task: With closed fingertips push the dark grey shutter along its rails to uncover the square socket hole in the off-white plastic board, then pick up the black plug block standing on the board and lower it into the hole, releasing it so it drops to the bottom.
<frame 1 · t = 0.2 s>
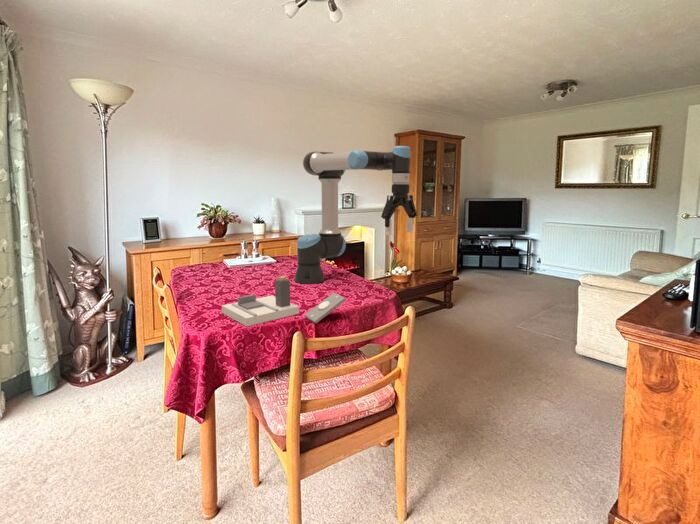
hand: (399, 233, 176), 28 cm above the table, fingers open, 13 cm apart
shutter: (250, 301, 154), point 5 cm above the table, slide at 0.0 cm
light switch: (325, 318, 151), on the table
plug: (283, 305, 156), point 3 cm above the table, touching socket board
socket board: (260, 313, 155), on the table
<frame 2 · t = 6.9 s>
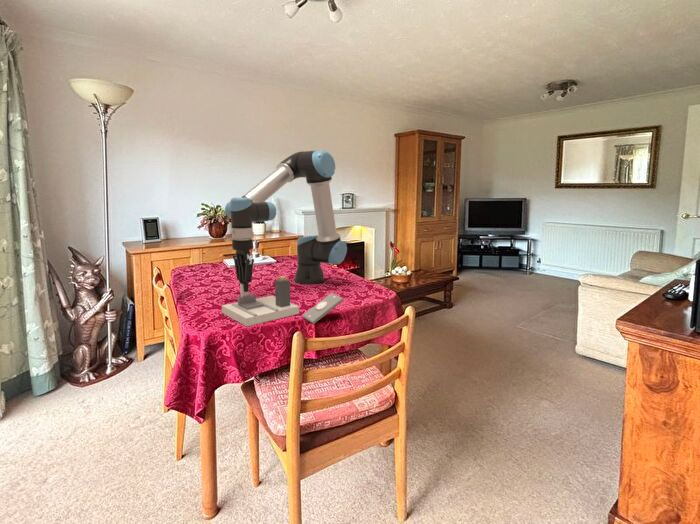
hand: (245, 299, 157), 5 cm above the table, fingers closed
shutter: (250, 301, 154), point 5 cm above the table, slide at 0.0 cm, touching gripper
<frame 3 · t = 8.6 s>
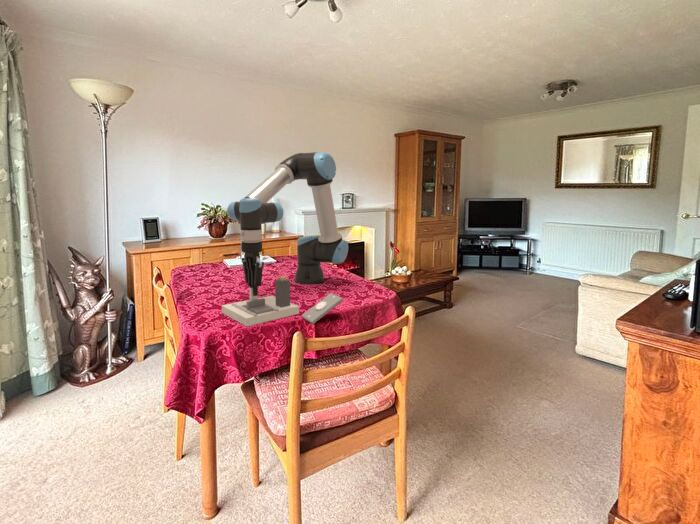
hand: (254, 303, 152), 5 cm above the table, fingers closed
shutter: (259, 306, 149), point 5 cm above the table, slide at 7.2 cm, touching gripper
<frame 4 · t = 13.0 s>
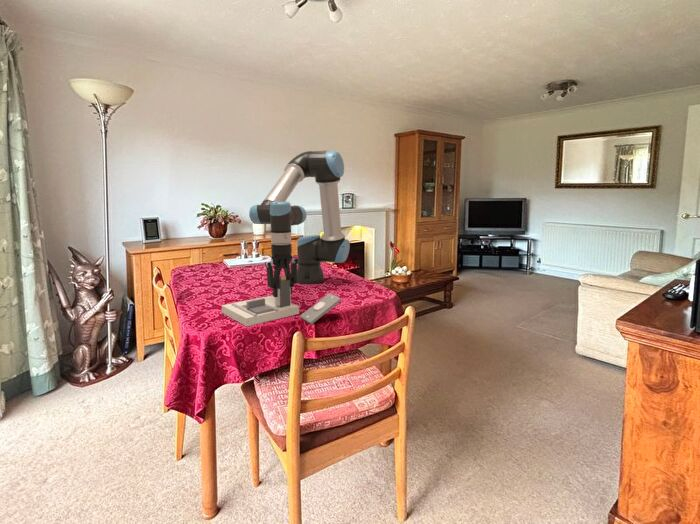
hand: (283, 303, 155), 4 cm above the table, fingers closed on plug, 4 cm apart
shutter: (259, 306, 149), point 5 cm above the table, slide at 7.2 cm
plug: (283, 305, 156), point 3 cm above the table, touching gripper, socket board
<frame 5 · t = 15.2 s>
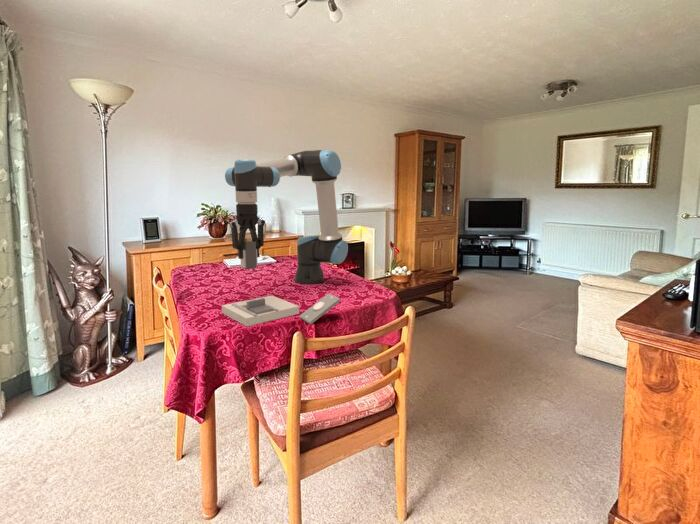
hand: (249, 266, 151), 19 cm above the table, fingers closed on plug, 4 cm apart
plug: (249, 268, 151), point 18 cm above the table, touching gripper
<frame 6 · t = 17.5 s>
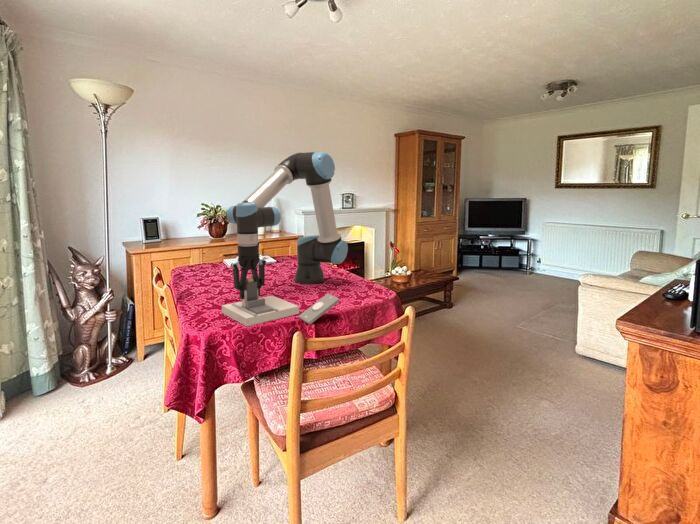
hand: (250, 305, 154), 3 cm above the table, fingers closed on plug, 4 cm apart
plug: (250, 307, 154), point 3 cm above the table, touching gripper
when the fingers open (3 cm above the table, at t = 18.8 s): plug stays where it is, resting in socket board.
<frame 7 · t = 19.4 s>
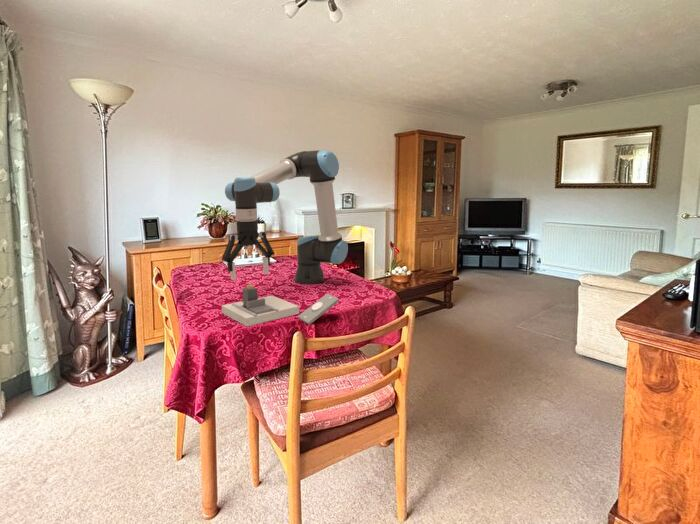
hand: (250, 276, 152), 14 cm above the table, fingers open, 13 cm apart
plug: (251, 313, 155), resting in socket board
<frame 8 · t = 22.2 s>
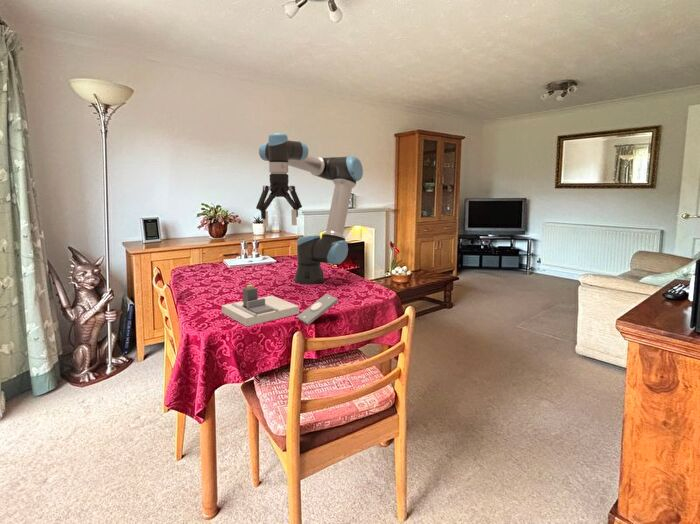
hand: (280, 226, 167), 32 cm above the table, fingers open, 13 cm apart
at the end: plug 0.1 cm from the target spot on the socket board, point 0.0 cm above the socket board's base; plug tilted 0°; shutter slide at 7.2 cm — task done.
